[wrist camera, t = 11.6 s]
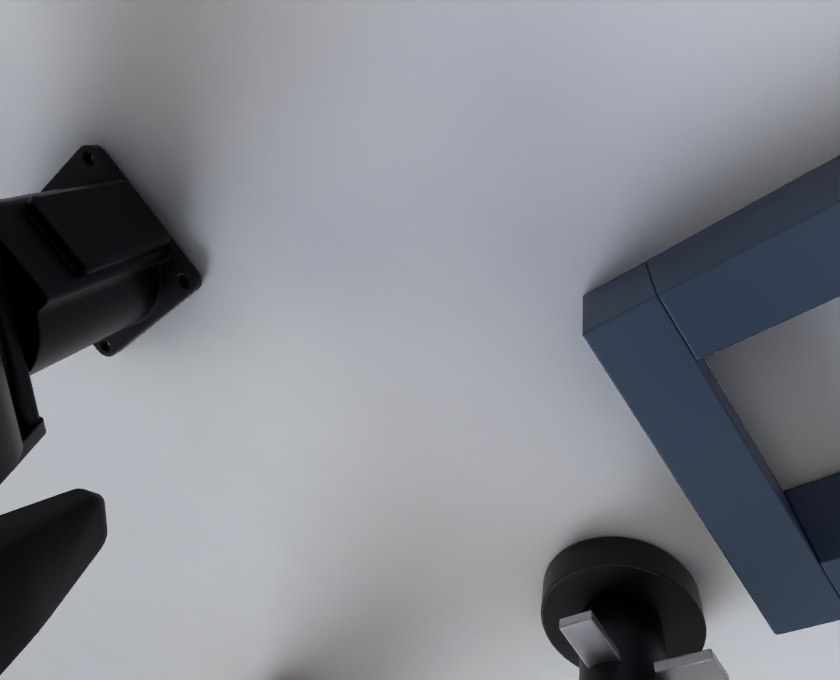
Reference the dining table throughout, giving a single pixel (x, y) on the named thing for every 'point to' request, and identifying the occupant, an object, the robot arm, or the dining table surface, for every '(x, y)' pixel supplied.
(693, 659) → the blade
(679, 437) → the blue square frame
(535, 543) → the dining table surface
